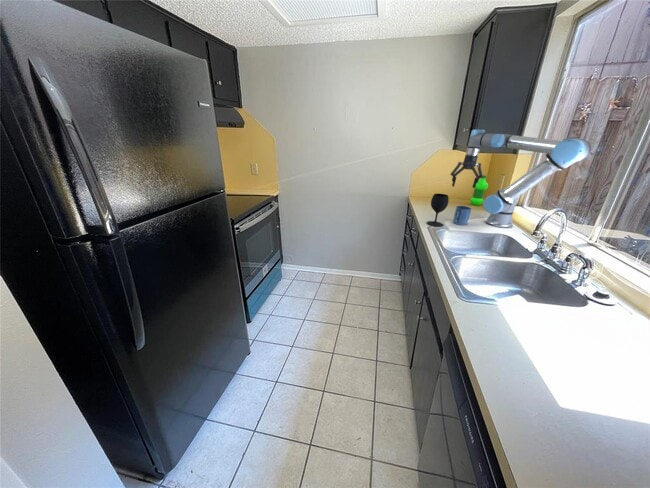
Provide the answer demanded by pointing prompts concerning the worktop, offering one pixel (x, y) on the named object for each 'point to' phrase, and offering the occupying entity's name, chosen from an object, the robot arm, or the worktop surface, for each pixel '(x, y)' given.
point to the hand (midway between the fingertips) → (463, 186)
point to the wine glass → (438, 207)
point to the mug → (461, 215)
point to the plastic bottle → (479, 192)
